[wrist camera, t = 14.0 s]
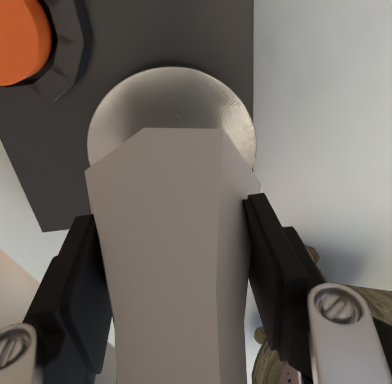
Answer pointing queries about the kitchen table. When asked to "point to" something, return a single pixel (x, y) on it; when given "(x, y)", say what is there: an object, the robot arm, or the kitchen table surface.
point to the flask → (175, 254)
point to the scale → (109, 83)
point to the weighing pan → (169, 109)
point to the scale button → (22, 39)
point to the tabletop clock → (280, 370)
